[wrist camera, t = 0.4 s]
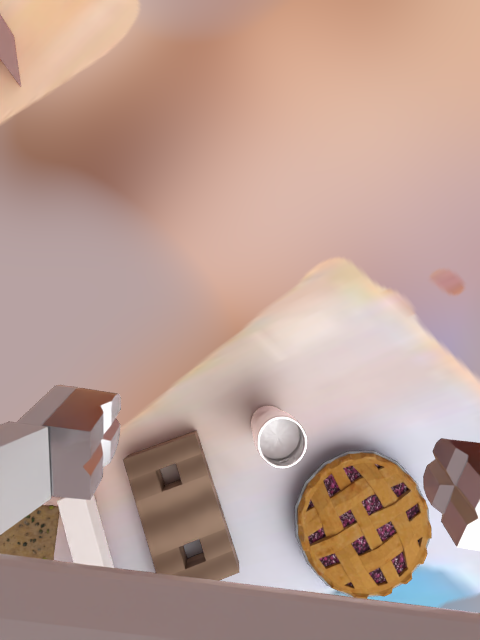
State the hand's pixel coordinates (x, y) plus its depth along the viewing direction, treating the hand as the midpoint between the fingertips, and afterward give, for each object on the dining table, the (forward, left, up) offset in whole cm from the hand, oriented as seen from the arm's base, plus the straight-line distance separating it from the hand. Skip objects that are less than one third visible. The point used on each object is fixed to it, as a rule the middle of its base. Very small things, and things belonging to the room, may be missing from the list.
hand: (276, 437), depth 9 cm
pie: (-28, -12, -53) cm, 61 cm away
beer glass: (-9, -3, -52) cm, 53 cm away
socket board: (-17, +15, -52) cm, 57 cm away
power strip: (-17, +29, -52) cm, 62 cm away
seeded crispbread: (-14, +41, -53) cm, 68 cm away
